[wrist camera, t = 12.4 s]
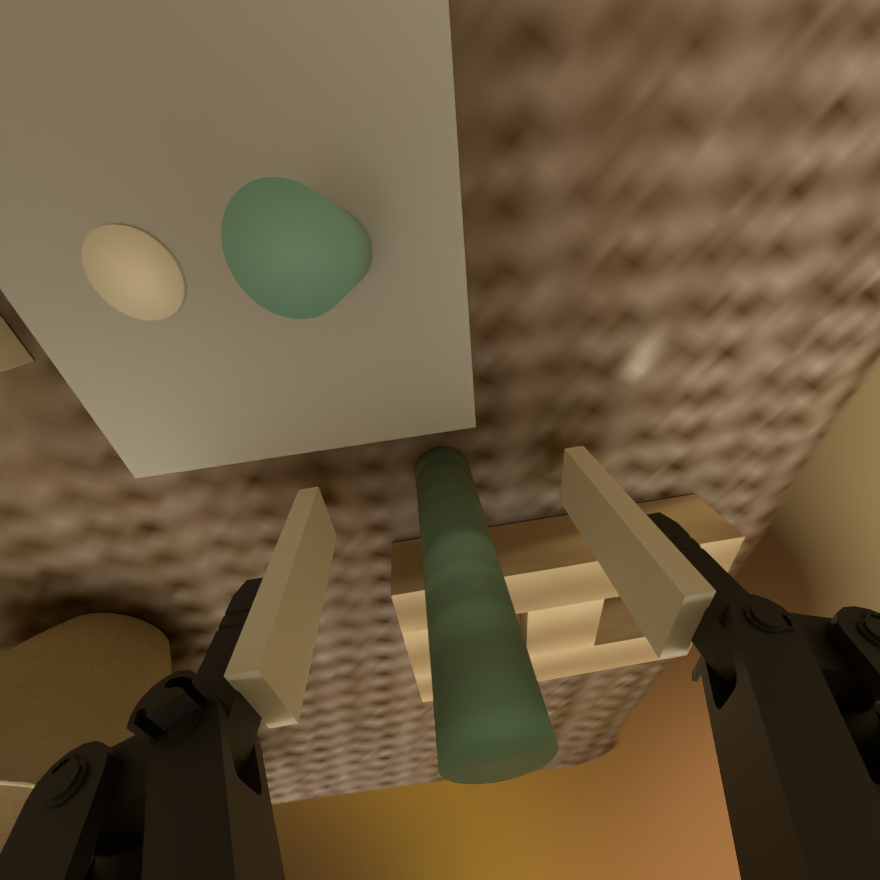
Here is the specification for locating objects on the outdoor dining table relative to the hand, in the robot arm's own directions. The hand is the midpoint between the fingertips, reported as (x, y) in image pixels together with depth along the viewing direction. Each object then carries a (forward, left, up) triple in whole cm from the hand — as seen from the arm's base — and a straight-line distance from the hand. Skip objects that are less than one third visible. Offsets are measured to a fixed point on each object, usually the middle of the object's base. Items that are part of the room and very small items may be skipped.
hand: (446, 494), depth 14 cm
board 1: (-9, -5, -2) cm, 10 cm away
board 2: (+9, +5, -2) cm, 10 cm away
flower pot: (+8, -19, -2) cm, 21 cm away
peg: (0, 0, -2) cm, 2 cm away
